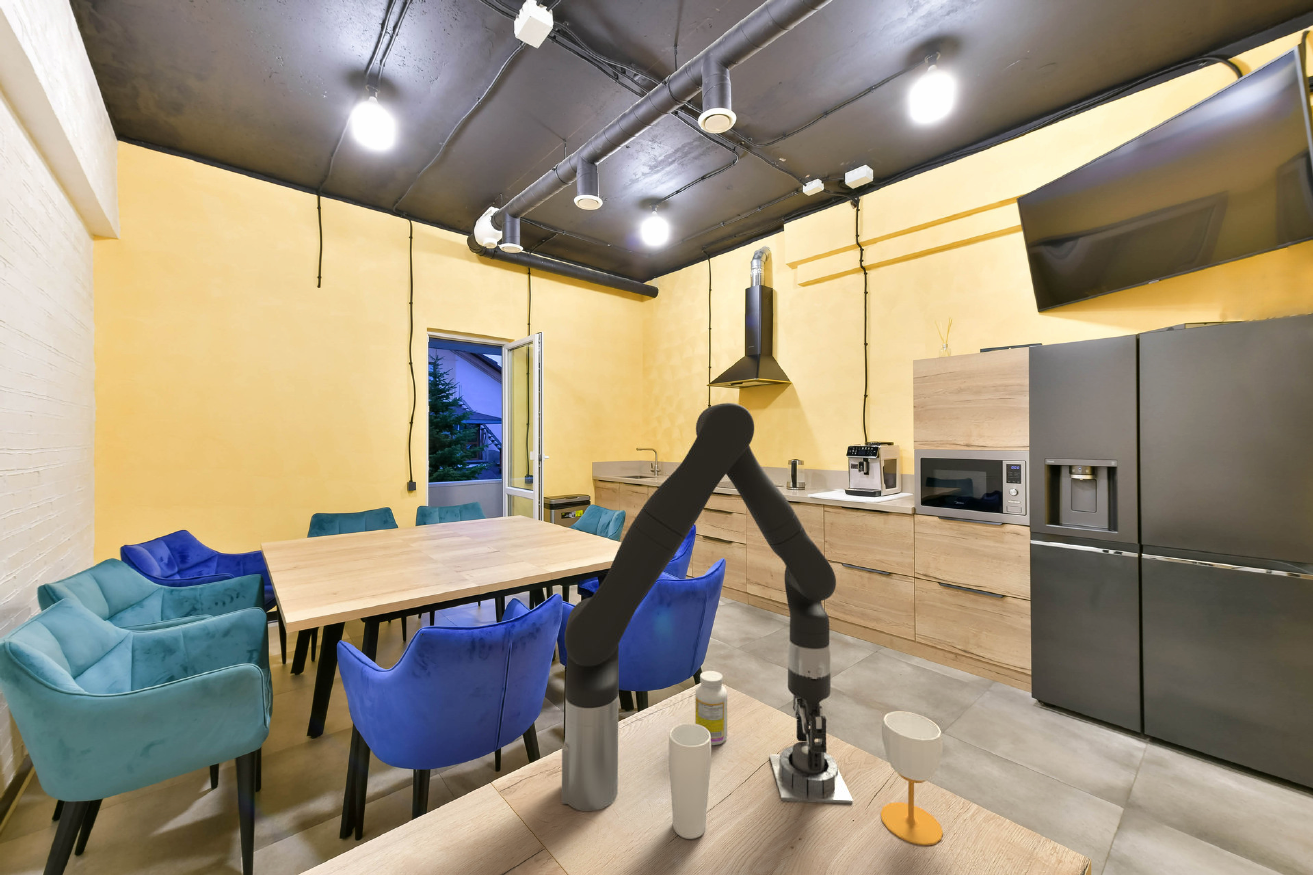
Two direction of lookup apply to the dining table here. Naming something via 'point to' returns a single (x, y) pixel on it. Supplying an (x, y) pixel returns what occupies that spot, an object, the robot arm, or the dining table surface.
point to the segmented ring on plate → (808, 781)
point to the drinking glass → (689, 778)
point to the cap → (804, 759)
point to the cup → (912, 773)
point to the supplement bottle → (712, 706)
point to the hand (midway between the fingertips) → (808, 754)
